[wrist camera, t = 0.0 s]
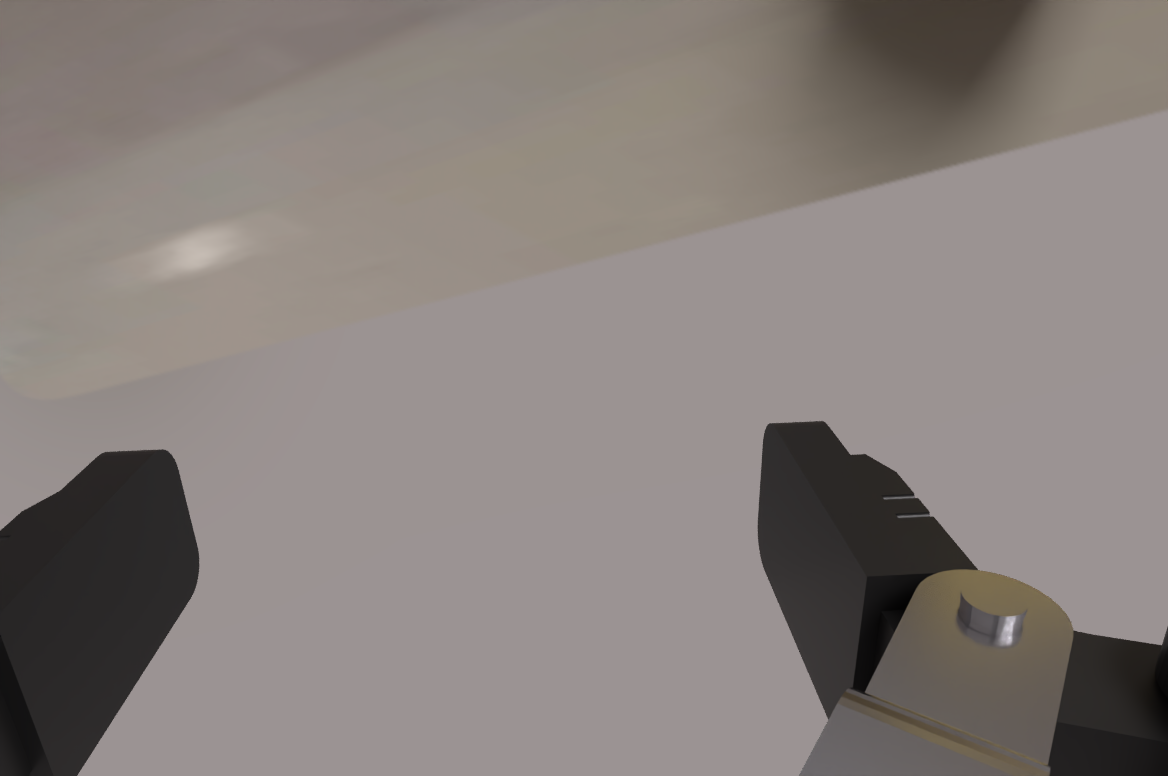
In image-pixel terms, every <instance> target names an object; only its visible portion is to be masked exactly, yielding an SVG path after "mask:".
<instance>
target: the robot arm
mask: <svg viewBox="0 0 1168 776" xmlns="http://www.w3.org/2000/svg"><path fill="white" fill-rule="evenodd" d="M758 542H759V550H760V556H761V560H762V564H763V567H764V570H765V572H766V575H767V577H768V579H769V581H770V584H771V586H772V589H773V591H774V593H775V596H776V598H777V600H778V603H779V605H780V607H781V610H782V612H783V614H784V617H785V619H786V621H787V623H788V626H789V628H790V630H791V633H792V636H793V638H794V640H795V643H796V645H797V647H798V650H799V652H800V654H801V657H802V659H803V661H804V663H805V666H806V668H807V671H808V673H809V675H810V677H811V680H812V682H813V685H814V687H815V689H816V692H817V694H818V696H819V699H820V701H821V703H822V705H823V708H824V710H825V713H826V715H827V717H828V722H827V724H826V726H825V728H824V729H823V731H822V733H821V735H820V737H819V739H818V741H817V743H816V744H815V746H814V748H813V750H812V752H811V754H810V756H809V758H808V760H807V761H806V764H805V765H804V767H803V769H802V771H801V773H800V775H799V776H1168V628H1167V631H1166V634H1165V637H1164V641H1163V644H1162V645H1156V644H1149V643H1142V642H1136V641H1130V640H1124V639H1117V638H1111V637H1104V636H1097V635H1092V634H1087V633H1082V632H1077V631H1073V627H1072V624H1071V622H1070V620H1069V618H1068V616H1067V614H1066V613H1065V612H1064V611H1063V610H1062V608H1060V606H1059V605H1058V604H1056V603H1055V602H1054V601H1053V600H1052V599H1051V598H1049V597H1048V596H1046V595H1045V594H1043V593H1042V592H1040V591H1039V590H1037V589H1035V588H1033V587H1031V586H1029V585H1027V584H1025V583H1023V582H1020V581H1018V580H1016V579H1013V578H1009V577H1007V576H1003V575H1000V574H996V573H991V572H986V571H979V570H978V569H977V568H976V567H975V566H974V564H973V563H972V562H971V561H970V560H969V558H968V557H967V556H966V555H965V554H964V552H963V551H962V550H961V549H960V548H959V547H958V546H957V544H956V543H955V542H954V541H953V539H952V538H951V537H950V536H949V535H948V533H947V532H946V531H945V530H944V529H943V527H942V526H941V525H940V524H939V523H938V521H937V520H936V519H935V518H934V517H930V514H929V511H928V509H927V508H926V507H925V506H924V505H923V504H922V502H921V501H920V500H919V499H918V498H915V497H914V493H913V492H912V491H911V489H910V488H909V487H908V486H907V484H906V483H905V482H904V481H903V480H902V478H901V477H900V476H899V475H898V474H897V472H895V471H893V470H892V469H890V468H888V467H887V466H885V465H883V464H881V463H880V462H878V461H876V460H874V459H873V458H871V457H869V456H867V455H866V454H862V455H850V454H849V452H848V451H847V450H846V449H845V447H844V446H843V445H842V443H841V442H840V441H839V439H838V438H837V437H836V435H835V434H834V433H833V431H832V430H831V429H830V427H829V426H828V425H827V424H826V423H825V422H823V421H815V422H793V423H772V424H771V423H770V424H768V426H767V427H766V430H765V433H764V439H763V451H762V467H761V482H760V497H759V513H758ZM198 574H199V553H198V547H197V543H196V539H195V535H194V531H193V527H192V523H191V519H190V515H189V511H188V507H187V503H186V499H185V495H184V490H183V486H182V483H181V479H180V474H179V470H178V467H177V464H176V462H175V459H174V458H173V456H172V455H171V454H170V453H169V452H168V451H166V450H141V451H118V452H105V453H102V454H100V455H99V456H98V457H97V458H95V460H93V461H92V462H91V463H90V464H89V465H88V466H87V467H86V468H85V469H84V470H82V471H81V472H80V473H79V474H78V475H77V476H76V477H75V478H74V479H73V480H72V481H70V482H69V483H68V484H67V485H66V486H65V487H64V488H63V489H62V490H61V491H59V492H57V493H56V494H53V495H52V496H50V497H48V498H46V499H44V500H42V501H41V502H39V503H37V504H36V505H33V506H31V507H30V508H28V509H26V510H24V511H22V512H21V513H20V514H19V515H18V516H16V517H15V518H14V519H13V520H12V521H11V522H10V523H9V524H7V525H6V526H5V527H4V528H3V529H2V530H1V531H0V776H77V775H78V773H79V772H80V770H81V769H82V767H83V766H84V764H85V763H86V761H87V759H88V758H89V756H90V755H91V753H92V752H93V750H94V748H95V747H96V745H97V744H98V742H99V741H100V739H101V738H102V736H103V734H104V733H105V731H106V730H107V728H108V727H109V725H110V724H111V722H112V720H113V719H114V717H115V715H116V714H117V713H118V711H119V709H120V708H121V706H122V705H123V703H124V702H125V700H126V699H127V697H128V695H129V694H130V692H131V691H132V689H133V687H134V686H135V684H136V683H137V681H138V680H139V678H140V676H141V675H142V674H143V672H144V670H145V669H146V667H147V666H148V664H149V663H150V661H151V659H152V658H153V656H154V655H155V653H156V652H157V650H158V649H159V646H160V645H161V644H162V642H163V641H164V639H165V638H166V636H167V634H168V633H169V631H170V630H171V628H172V627H173V625H174V624H175V622H176V620H177V619H178V617H179V616H180V614H181V613H182V611H183V610H184V608H185V606H186V605H187V603H188V602H189V600H190V599H191V597H192V595H193V593H194V590H195V588H196V584H197V579H198Z"/></svg>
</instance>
